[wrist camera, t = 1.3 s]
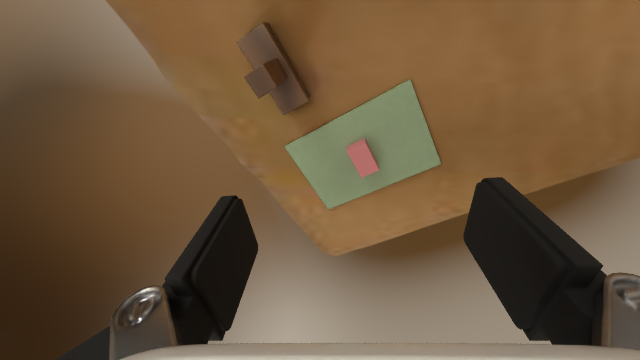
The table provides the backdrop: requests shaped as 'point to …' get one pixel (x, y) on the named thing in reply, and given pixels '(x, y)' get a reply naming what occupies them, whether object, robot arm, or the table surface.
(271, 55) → the brown t-shaped block
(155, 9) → the table surface
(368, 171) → the eraser
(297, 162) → the desk pad
